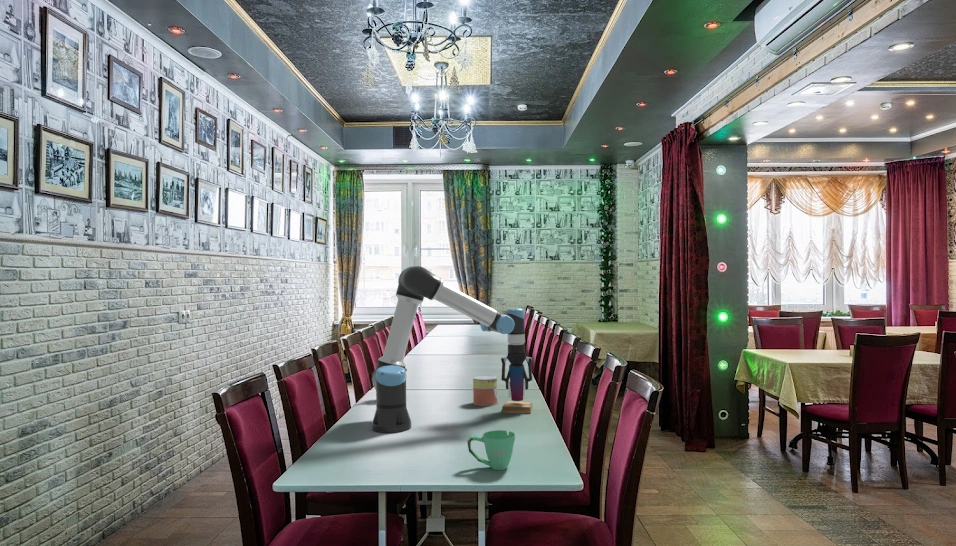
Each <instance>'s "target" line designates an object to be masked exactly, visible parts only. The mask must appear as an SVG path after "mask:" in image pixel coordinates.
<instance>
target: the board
mask: <svg viewBox="0 0 956 546" xmlns="http://www.w3.org/2000/svg"><path fill="white" fill-rule="evenodd" d="M501 409H502V414H531V413H532V410H533V401H512V400H511V401H510V400H509V401H508V400H507V401H504V403H503V404H502V407H501Z"/></svg>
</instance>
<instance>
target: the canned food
mask: <svg viewBox="0 0 956 546" xmlns="http://www.w3.org/2000/svg"><path fill="white" fill-rule="evenodd" d="M472 387H473V388H472V389H473V393H472V394H473V405H474V404H475V406H477V405H478V406H479V407H491V406H492V407H493V406H496V405H497V404H498V403H499V402H498V376H495V375H476V376H473V377H472Z"/></svg>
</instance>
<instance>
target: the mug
mask: <svg viewBox="0 0 956 546" xmlns="http://www.w3.org/2000/svg"><path fill="white" fill-rule="evenodd" d="M515 440H516V433H515V432H514V431H508V432H507V430H500V429H499V430H496V429H495V430H489V431H486V432H484V433H483V434H482V436H479V435H471V436H470V437H469V438H468V439H467V440H466V442H467V450H468V452H469V454H470V455H472V457H474V458H475V460H476V461H478V462H480V463H482V464H484V465H485V466H486V465H487V466H489V467H490V468H491V469H492V470H495V471H504V470H507V469H508V467H509V465H510V462H511V458H512V455H513V451H514V445H515V442H516V441H515ZM472 441H477V442H481V443H483V444H484V449H485V453H486V457H487V459H488V460H487V459H484V458H483V457H480V456H479V455H478V454H477V453H476V452H475V451H474V449H473V448H472Z"/></svg>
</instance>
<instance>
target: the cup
mask: <svg viewBox="0 0 956 546" xmlns="http://www.w3.org/2000/svg"><path fill="white" fill-rule="evenodd" d="M524 368H525V365H524V366H521V367H520V365H513V367H512V366H510V364H509V365H508V371H509V370H510V378H509V381H510V387H511V397H510V398H511V401H515V402H523V401H524V385H523V383H524V382H525V379H524V376H523V372H524Z"/></svg>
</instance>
